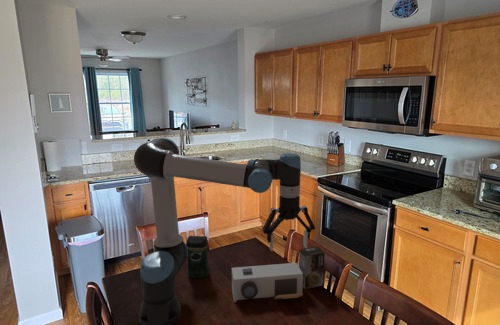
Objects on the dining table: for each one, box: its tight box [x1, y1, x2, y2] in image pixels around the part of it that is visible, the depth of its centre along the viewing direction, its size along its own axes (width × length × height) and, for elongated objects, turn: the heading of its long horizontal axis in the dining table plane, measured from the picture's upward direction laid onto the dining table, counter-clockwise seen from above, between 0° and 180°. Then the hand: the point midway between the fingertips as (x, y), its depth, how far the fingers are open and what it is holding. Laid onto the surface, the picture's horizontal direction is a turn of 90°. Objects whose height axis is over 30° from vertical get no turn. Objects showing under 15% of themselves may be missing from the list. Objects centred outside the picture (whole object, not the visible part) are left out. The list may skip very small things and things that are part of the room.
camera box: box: [231, 262, 303, 303], centre depth 136 cm, size 28×11×11 cm, turn 99°
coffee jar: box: [185, 235, 210, 279], centre depth 150 cm, size 10×8×19 cm
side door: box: [274, 292, 304, 300], centre depth 130 cm, size 10×1×8 cm
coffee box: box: [298, 245, 325, 290], centre depth 142 cm, size 9×6×16 cm
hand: (288, 248), depth 128 cm, fingers open, 13 cm apart
